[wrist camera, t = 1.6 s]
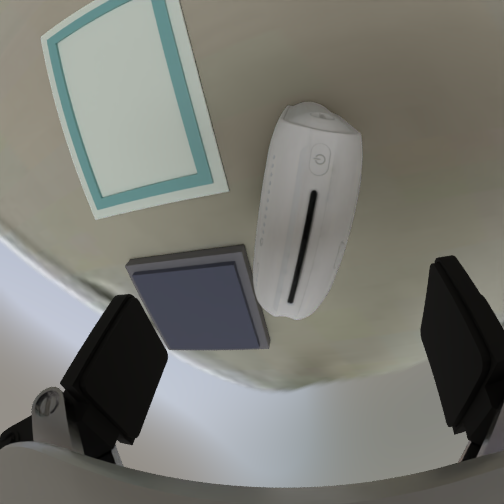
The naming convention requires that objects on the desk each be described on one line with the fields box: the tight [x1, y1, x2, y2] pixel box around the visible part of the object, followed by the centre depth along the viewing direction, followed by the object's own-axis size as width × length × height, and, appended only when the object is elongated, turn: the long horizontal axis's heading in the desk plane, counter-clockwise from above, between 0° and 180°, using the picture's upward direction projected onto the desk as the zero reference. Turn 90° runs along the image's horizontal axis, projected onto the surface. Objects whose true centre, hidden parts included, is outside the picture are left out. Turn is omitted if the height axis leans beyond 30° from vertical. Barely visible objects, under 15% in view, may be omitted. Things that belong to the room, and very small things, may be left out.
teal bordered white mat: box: [41, 0, 230, 220], centre depth 21 cm, size 14×20×1 cm
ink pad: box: [125, 245, 270, 350], centre depth 30 cm, size 12×12×2 cm
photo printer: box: [253, 102, 363, 320], centre depth 17 cm, size 10×4×12 cm, turn 174°
